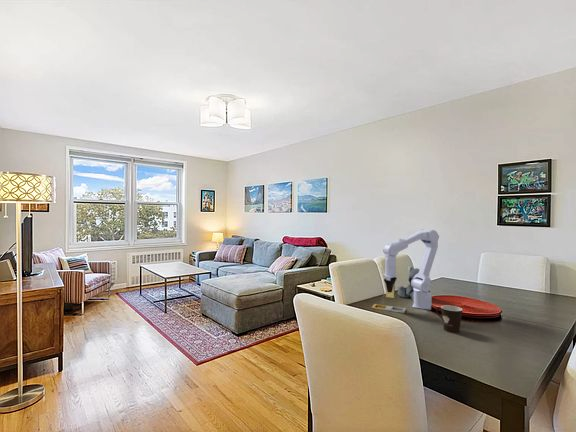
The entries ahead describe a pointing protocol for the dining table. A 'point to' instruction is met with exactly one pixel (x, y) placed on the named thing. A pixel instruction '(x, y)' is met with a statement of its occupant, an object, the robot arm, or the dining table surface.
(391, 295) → the brass block
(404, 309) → the rail
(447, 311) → the coffee mug
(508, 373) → the dining table surface
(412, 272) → the koala plush
